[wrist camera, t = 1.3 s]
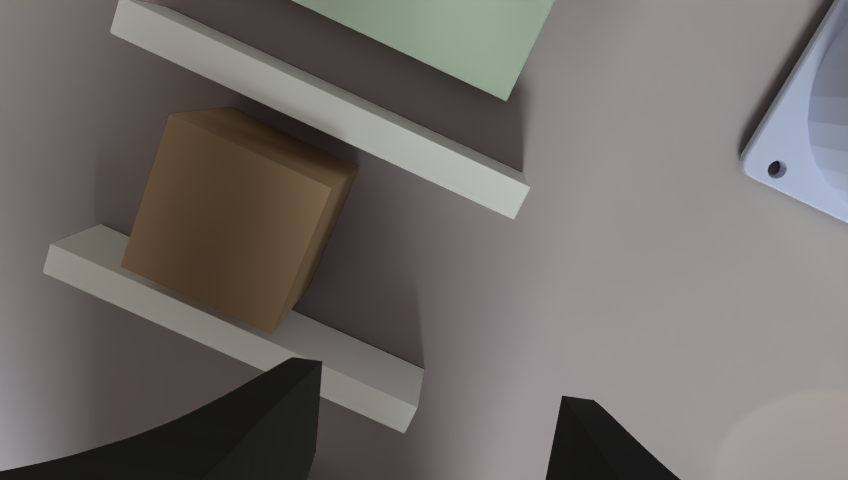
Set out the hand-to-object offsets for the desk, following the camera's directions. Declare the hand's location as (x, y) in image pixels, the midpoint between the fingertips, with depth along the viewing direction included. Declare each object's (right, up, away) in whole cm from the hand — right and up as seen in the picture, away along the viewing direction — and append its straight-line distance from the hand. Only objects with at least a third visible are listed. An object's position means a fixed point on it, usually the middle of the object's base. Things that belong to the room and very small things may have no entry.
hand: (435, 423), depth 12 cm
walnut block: (-5, +5, +8) cm, 11 cm away
